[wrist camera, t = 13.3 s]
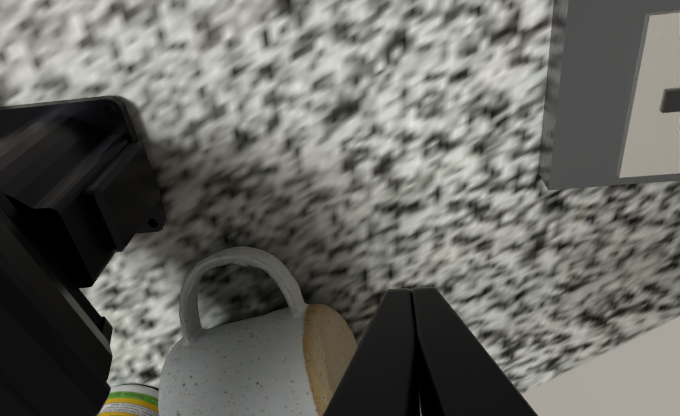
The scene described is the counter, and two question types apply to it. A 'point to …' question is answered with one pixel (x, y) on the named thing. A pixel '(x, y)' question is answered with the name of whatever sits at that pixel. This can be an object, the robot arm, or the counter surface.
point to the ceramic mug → (255, 352)
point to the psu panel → (612, 94)
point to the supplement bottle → (131, 401)
